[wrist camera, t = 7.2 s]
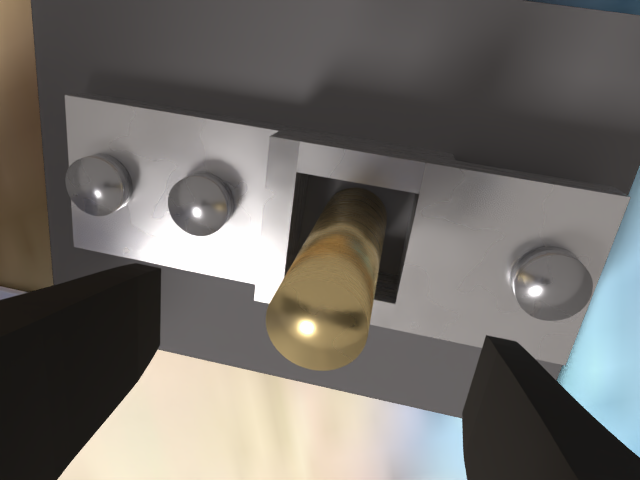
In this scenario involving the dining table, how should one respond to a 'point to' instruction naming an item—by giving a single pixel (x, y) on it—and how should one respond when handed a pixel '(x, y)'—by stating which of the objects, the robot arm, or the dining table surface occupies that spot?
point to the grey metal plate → (355, 166)
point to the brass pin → (331, 285)
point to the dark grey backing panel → (347, 131)
